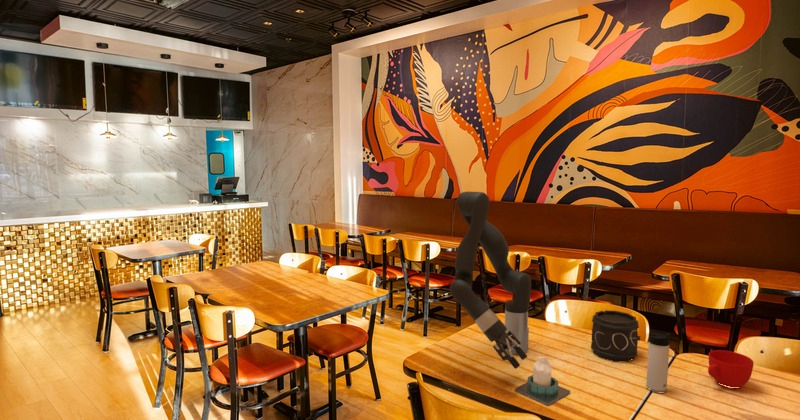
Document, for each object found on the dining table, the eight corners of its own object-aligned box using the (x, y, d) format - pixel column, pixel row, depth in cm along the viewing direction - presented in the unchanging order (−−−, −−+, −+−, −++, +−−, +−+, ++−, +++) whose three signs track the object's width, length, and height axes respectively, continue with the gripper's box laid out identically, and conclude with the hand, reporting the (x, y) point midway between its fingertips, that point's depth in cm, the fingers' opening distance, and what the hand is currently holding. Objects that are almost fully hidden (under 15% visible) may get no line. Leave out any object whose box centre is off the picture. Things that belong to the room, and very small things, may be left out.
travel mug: (670, 394, 163) (673, 337, 161) (649, 392, 164) (652, 336, 162) (664, 386, 169) (667, 330, 167) (643, 384, 170) (646, 329, 168)
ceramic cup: (690, 382, 172) (692, 355, 171) (722, 373, 178) (724, 347, 177) (726, 398, 160) (729, 370, 159) (760, 389, 166) (762, 361, 165)
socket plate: (537, 379, 174) (537, 369, 174) (570, 393, 164) (570, 382, 164) (515, 391, 166) (515, 379, 165) (547, 406, 156) (548, 394, 155)
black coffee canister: (639, 366, 185) (642, 327, 183) (589, 358, 192) (591, 320, 190) (638, 349, 201) (640, 312, 199) (592, 342, 208) (593, 307, 207)
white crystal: (548, 352, 166) (554, 359, 161) (547, 385, 168) (553, 393, 162) (531, 352, 166) (536, 359, 160) (530, 385, 167) (535, 393, 162)
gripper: (491, 325, 165) (523, 364, 160) (504, 313, 177) (534, 349, 172) (476, 337, 168) (507, 376, 163) (490, 324, 180) (519, 360, 176)
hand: (521, 362), depth 168 cm, fingers open, 8 cm apart
